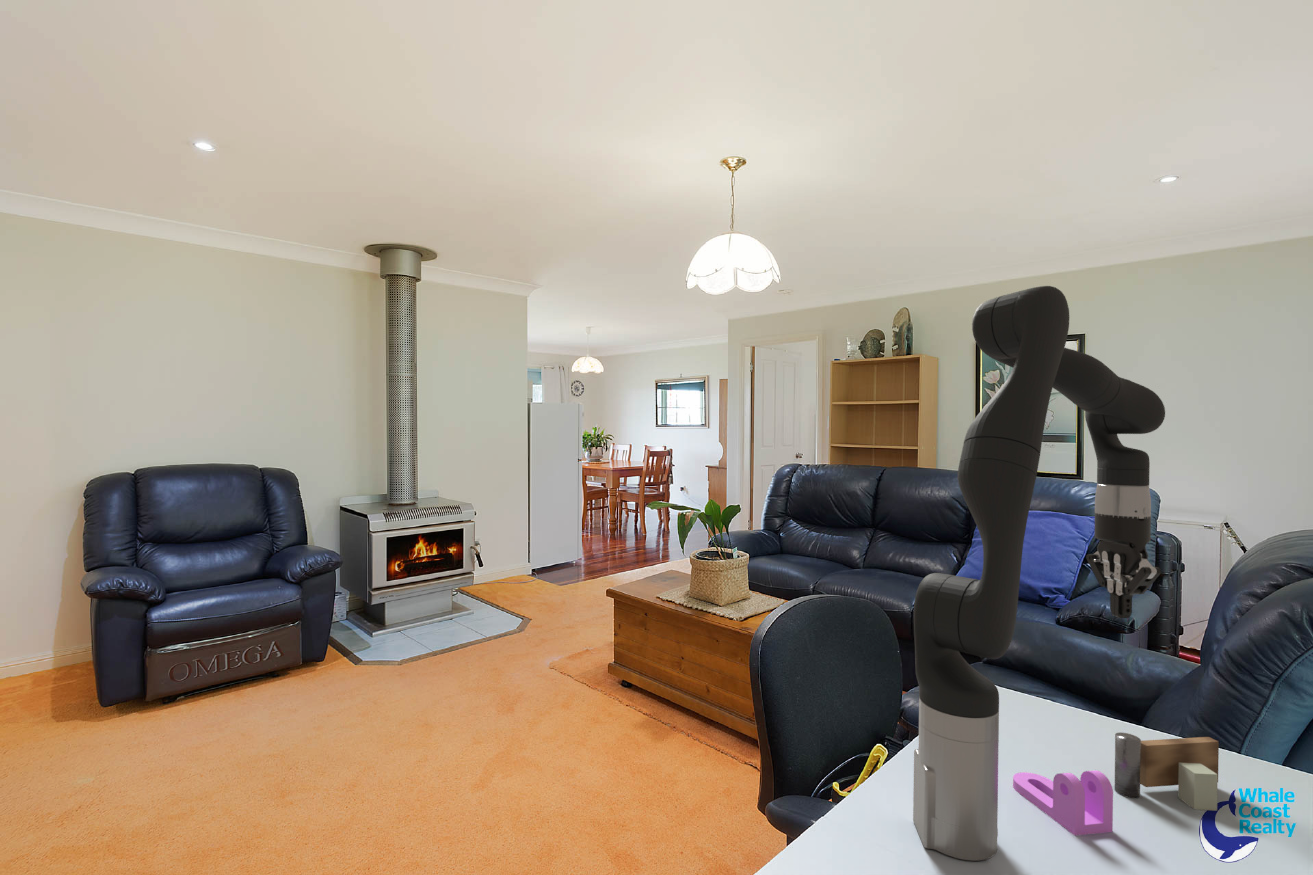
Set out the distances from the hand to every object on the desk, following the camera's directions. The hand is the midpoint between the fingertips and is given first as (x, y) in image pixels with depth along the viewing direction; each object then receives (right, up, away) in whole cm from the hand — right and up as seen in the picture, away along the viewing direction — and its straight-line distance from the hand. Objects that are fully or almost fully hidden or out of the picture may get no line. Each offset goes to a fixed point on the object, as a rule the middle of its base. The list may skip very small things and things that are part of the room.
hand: (1120, 616), depth 106 cm
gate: (0, -21, -12) cm, 24 cm away
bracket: (-21, -22, -16) cm, 35 cm away
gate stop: (-1, -22, -16) cm, 27 cm away
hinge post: (-8, -22, -13) cm, 27 cm away
